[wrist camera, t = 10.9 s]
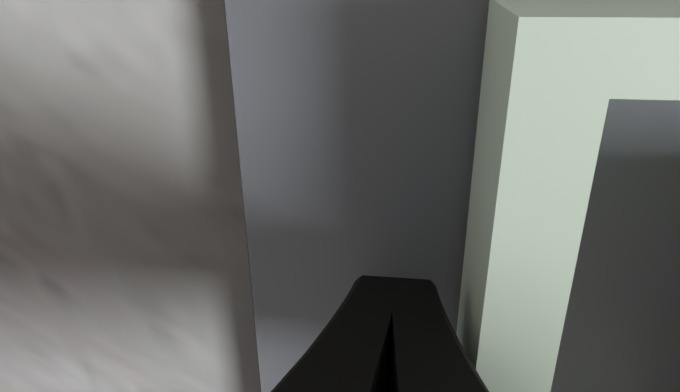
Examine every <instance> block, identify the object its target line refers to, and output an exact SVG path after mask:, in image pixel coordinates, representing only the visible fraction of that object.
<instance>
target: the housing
mask: <svg viewBox="0 0 680 392" xmlns="http://www.w3.org/2000/svg"><path fill="white" fill-rule="evenodd" d="M609 99H638V100H680V0H489V9H488V19H487V29H486V39H485V49H484V59H483V69H482V79H481V89H480V100H479V110H478V120H477V130H476V140H475V150H474V160H473V170H472V180H471V190H470V200H469V210H468V221H467V231H466V241H465V251H464V261H463V271H462V281H461V291H460V301H459V311H458V321H457V331H456V335H457V337H458V339H459V341H460V343H461V345H462V346H463V348H464V350H465V352H466V353H467V355H468V357H469V359H470V361H471V362H472V364H473V366H474V368H475V369H476V371H477V373H478V374H479V376H480V378H481V379H482V381H483V383H484V384H485V386H486V387H487V389H488V391H489V392H550V391H551V386H552V381H553V376H554V371H555V366H556V361H557V356H558V351H559V346H560V341H561V336H562V331H563V326H564V321H565V317H566V312H567V307H568V302H569V297H570V292H571V287H572V282H573V277H574V272H575V267H576V262H577V257H578V252H579V247H580V242H581V237H582V232H583V227H584V222H585V217H586V212H587V207H588V202H589V197H590V192H591V187H592V182H593V177H594V172H595V167H596V162H597V157H598V152H599V147H600V142H601V138H602V133H603V128H604V123H605V118H606V113H607V108H608V103H609Z"/></svg>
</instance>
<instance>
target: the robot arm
mask: <svg viewBox="0 0 680 392" xmlns="http://www.w3.org/2000/svg"><path fill="white" fill-rule="evenodd" d="M271 392H489V391H488V389H487V387H486V386H485V384H484V383H483V381H482V379H481V378H480V376H479V374H478V373H477V371H476V369H475V368H474V366H473V364H472V362H471V361H470V359H469V357H468V355H467V353H466V352H465V350H464V348H463V346H462V345H461V343H460V341H459V339H458V337H457V335H456V333H455V331H454V329H453V327H452V325H451V323H450V321H449V319H448V317H447V314H446V312H445V310H444V307H443V305H442V303H441V300H440V297H439V294H438V291H437V287H436V285H435V284H434V283H433V282H432V281H431V280H427V279H412V278H396V277H381V276H366V275H362V276H360V277H359V278H358V279H357V280H355V282H354V284H353V286H352V288H351V289H350V291H349V293H348V294H347V296H346V298H345V299H344V301H343V302H342V304H341V305H340V307H339V308H338V310H337V311H336V313H335V314H334V316H333V317H332V318H331V320H330V321H329V323H328V324H327V325H326V326H325V328H324V329H323V330H322V332H321V333H320V334H319V336H318V337H317V338H316V339H315V341H314V342H313V343H312V345H311V346H310V347H309V348H308V350H307V351H306V352H305V353H304V355H303V356H302V357H301V358H300V359H299V360H298V361H297V363H296V364H295V365H294V366H293V367H292V368H291V369H290V370H289V372H288V373H287V374H286V375H285V376H284V377H283V378H282V380H281V381H280V382H279V383H278V384H277V385H276V386H275V387H274V388H273V390H272V391H271Z"/></svg>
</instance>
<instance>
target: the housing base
mask: <svg viewBox="0 0 680 392" xmlns="http://www.w3.org/2000/svg"><path fill="white" fill-rule="evenodd" d="M224 1H225V11H226V22H227V32H228V43H229V54H230V64H231V75H232V86H233V96H234V107H235V118H236V128H237V139H238V150H239V160H240V171H241V181H242V192H243V203H244V213H245V224H246V235H247V245H248V256H249V267H250V277H251V288H252V299H253V309H254V320H255V331H256V341H257V352H258V362H259V373H260V384H261V392H271V391H272V390H273V388H274V387H275V386H276V385H277V384H278V383H279V382H280V381H281V380H282V378H283V377H284V376H285V375H286V374H287V373H288V372H289V370H290V369H291V368H292V367H293V366H294V365H295V364H296V363H297V361H298V360H299V359H300V358H301V357H302V356H303V355H304V353H305V352H306V351H307V350H308V348H309V347H310V346H311V345H312V343H313V342H314V341H315V339H316V338H317V337H318V336H319V334H320V333H321V332H322V330H323V329H324V328H325V326H326V325H327V324H328V323H329V321H330V320H331V318H332V317H333V316H334V314H335V313H336V311H337V310H338V308H339V307H340V305H341V304H342V302H343V301H344V299H345V298H346V296H347V294H348V293H349V291H350V289H351V288H352V286H353V284H354V282H355V280H357V279H358V278H359V277H360V276H362V275H366V276H381V277H396V278H412V279H427V280H431V281H432V282H433V283H434V284H435V285H436V287H437V291H438V294H439V297H440V300H441V303H442V305H443V307H444V310H445V312H446V314H447V317H448V319H449V321H450V323H451V325H452V327H453V329H454V331H455V333H456V331H457V321H458V311H459V301H460V291H461V281H462V271H463V261H464V251H465V241H466V231H467V221H468V210H469V200H470V190H471V180H472V170H473V160H474V150H475V140H476V130H477V120H478V110H479V100H480V89H481V79H482V69H483V59H484V49H485V39H486V29H487V19H488V9H489V0H224ZM550 392H680V100H638V99H609V103H608V108H607V113H606V118H605V123H604V128H603V133H602V138H601V142H600V147H599V152H598V157H597V162H596V167H595V172H594V177H593V182H592V187H591V192H590V197H589V202H588V207H587V212H586V217H585V222H584V227H583V232H582V237H581V242H580V247H579V252H578V257H577V262H576V267H575V272H574V277H573V282H572V287H571V292H570V297H569V302H568V307H567V312H566V317H565V321H564V326H563V331H562V336H561V341H560V346H559V351H558V356H557V361H556V366H555V371H554V376H553V381H552V386H551V391H550Z"/></svg>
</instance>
